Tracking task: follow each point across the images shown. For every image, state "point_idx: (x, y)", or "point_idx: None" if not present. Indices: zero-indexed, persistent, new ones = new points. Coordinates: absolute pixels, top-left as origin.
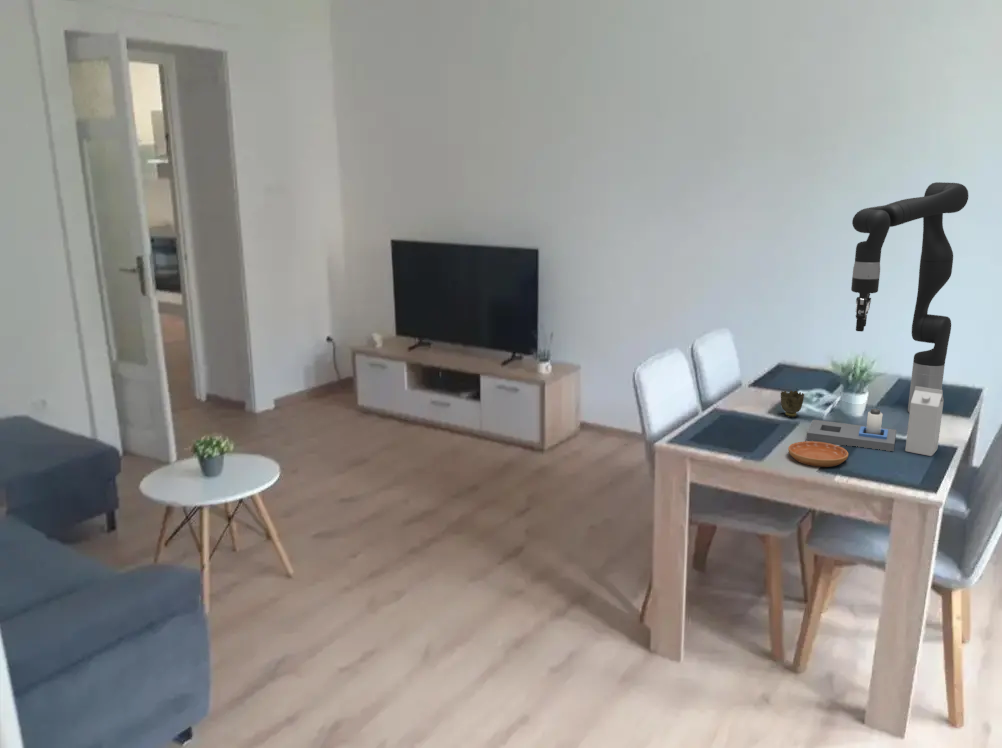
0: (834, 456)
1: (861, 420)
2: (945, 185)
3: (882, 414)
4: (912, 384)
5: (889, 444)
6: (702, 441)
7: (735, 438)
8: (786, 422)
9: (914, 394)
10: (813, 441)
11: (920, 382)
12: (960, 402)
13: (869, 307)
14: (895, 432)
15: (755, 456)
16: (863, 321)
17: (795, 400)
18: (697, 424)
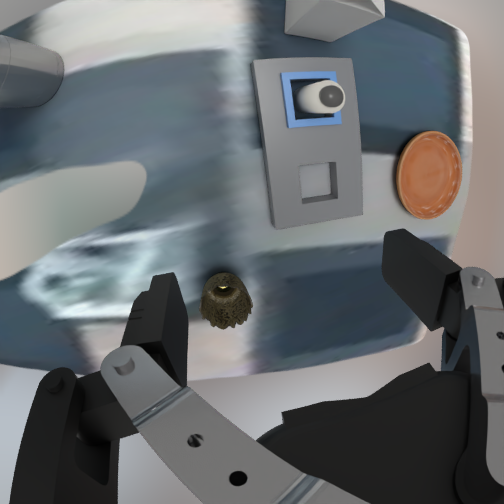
0: (418, 150)
1: (161, 153)
2: None
3: (329, 80)
4: (17, 94)
5: (351, 66)
6: (403, 319)
7: (383, 297)
8: (267, 272)
9: (375, 3)
10: (401, 192)
11: (22, 70)
12: None
13: (195, 412)
14: (274, 59)
15: (437, 248)
16: (447, 268)
17: (246, 290)
18: (341, 356)
